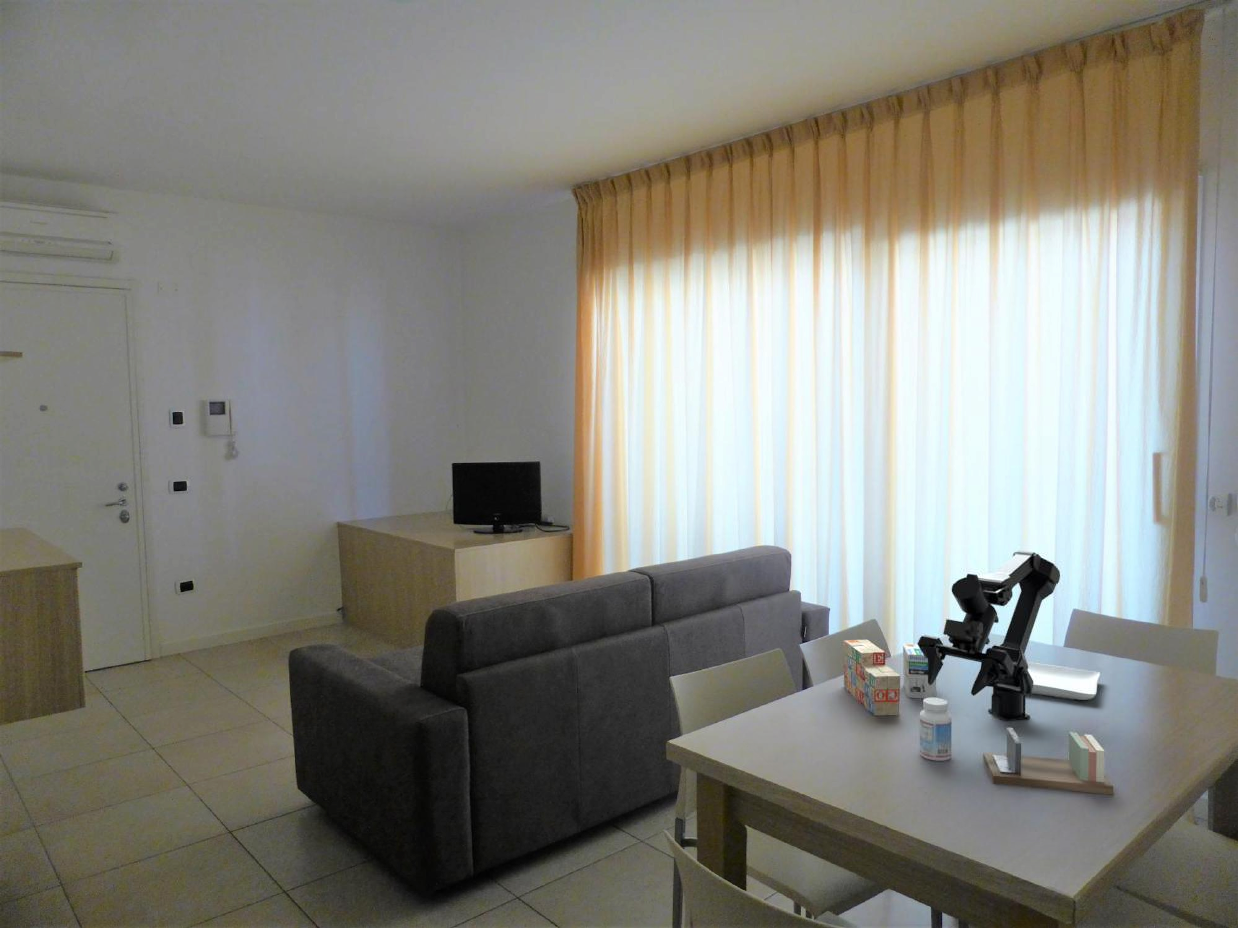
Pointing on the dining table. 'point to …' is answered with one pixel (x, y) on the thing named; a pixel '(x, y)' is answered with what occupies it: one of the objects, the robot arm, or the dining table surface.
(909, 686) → the light bulb box
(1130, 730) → the dining table surface
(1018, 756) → the bookend
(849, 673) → the stack of blocks
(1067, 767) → the shelf board
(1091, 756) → the row of books
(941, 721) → the pill bottle
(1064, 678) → the salad plate
